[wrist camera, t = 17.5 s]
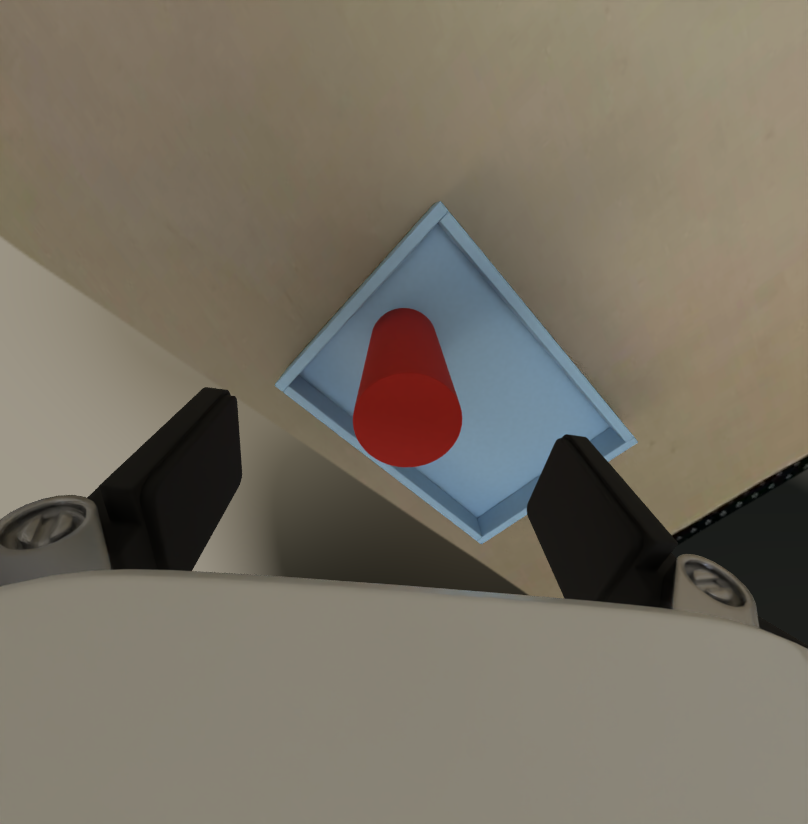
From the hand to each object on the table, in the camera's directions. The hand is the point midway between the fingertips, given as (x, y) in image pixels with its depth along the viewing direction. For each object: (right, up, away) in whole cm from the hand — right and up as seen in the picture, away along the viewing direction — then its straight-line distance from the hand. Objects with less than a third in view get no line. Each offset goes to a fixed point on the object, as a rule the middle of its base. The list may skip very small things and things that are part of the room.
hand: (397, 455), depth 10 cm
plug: (0, +6, +11) cm, 13 cm away
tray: (+4, +2, +14) cm, 15 cm away
